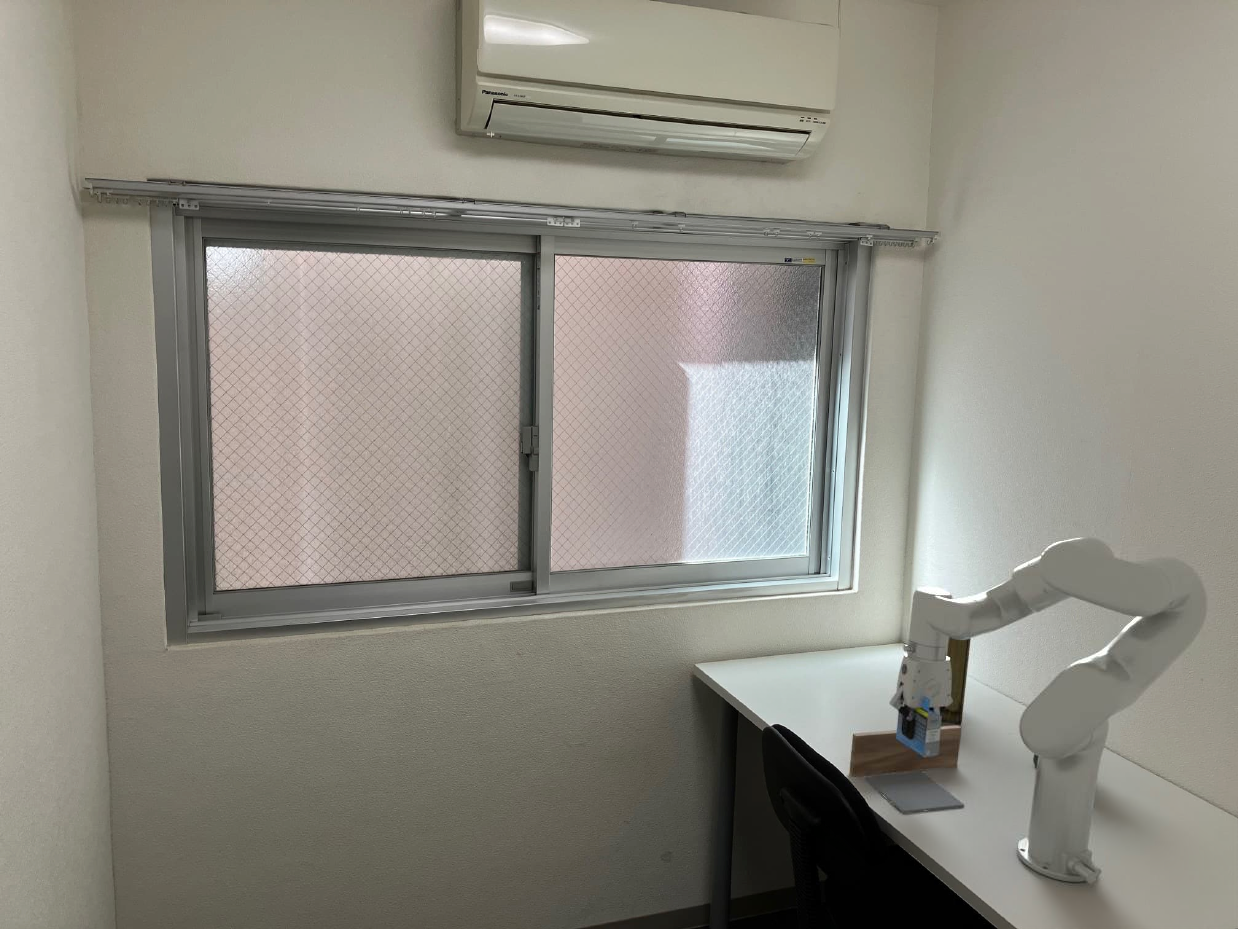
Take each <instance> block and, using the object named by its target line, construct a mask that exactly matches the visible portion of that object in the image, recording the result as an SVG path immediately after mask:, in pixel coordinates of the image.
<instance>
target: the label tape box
mask: <svg viewBox="0 0 1238 929" xmlns="http://www.w3.org/2000/svg"><path fill="white" fill-rule="evenodd" d="M900 704H901V705H903V701H901V702H900ZM929 705H930V699H929V698H927V697H924V702H923V707H922V708H916V710H915V714H914V717H913V720H914V721H915V728H914V737H913V739H911V740H910V739H908V738H907V737H906V736H904V735H903V734H902V731H901V727H902V718H903V716H902V715H901V714H900V713H899V711H897V712H898V713H897V714H898V715H897V723H896V724H897V725H896V730H897V733H896V739H897V740H899V741H900V742H902V743H903V744H905V745H906V746H908V747H910V748H911V749H913V750H914V751H916V752H917V753H919V754H920V755H922V756H923V757H932V756H936V755H938V753H939V741H940V730H941V727H942V722H941V719H942V716H940V715H938V714H937V713H935V712H933V711H932V710H930V709H929ZM908 710H909V708H908Z"/></svg>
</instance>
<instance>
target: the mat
mask: <svg viewBox="0 0 1238 929" xmlns="http://www.w3.org/2000/svg"><path fill="white" fill-rule="evenodd" d="M863 778H864V780H865V781H866V782H867V783H868V784H869V785H870V786H872V787H873V788H874V789H875V790H876V791H877V790H878V791H879V792H880V793H881V794H880V793H879V792H878V791H877V792H878V793H879V794H880V795H882V796H883V795H884V796H885V797H886V798H887V799H888V800H889V801H890V802H892V803H891V805H893V804H894V805H895V806H896V807H897V808H898V809H899V810H900V811H899V810H898V809H897V808H896V807H895V806H894V805H893V806H894V807H895V808H896V809H897V810H898V811H899V812H900V813H902V812H903V813H902V814H908V813H907V812H912V813H918V812H919V811H921V812H925V811H924V810H930V811H938V809H939V810H947V809H955V808H956V807H957V808H964V807H965V804H964V803H963V802H961V801H960V800H959V799H958V798H957V797H956V796H954V795H953V794H951V793H950V792H949V791H948V790H947V789H945V788H944V787H942V785H940V784H939V783H938V782H936V781H935V780H934V779H933V778H931V777H930V776H928V774H926V773H925V772H924V771H923V770H917V771H907V772H896V773H886V774H875V775H865V776H864V777H863ZM884 796H883V797H884ZM885 797H884V798H885ZM886 798H885V799H886ZM887 799H886V800H887ZM888 800H887V801H888ZM889 801H888V802H889ZM890 802H889V803H890ZM905 812H906V813H905ZM919 813H920V812H919Z"/></svg>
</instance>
